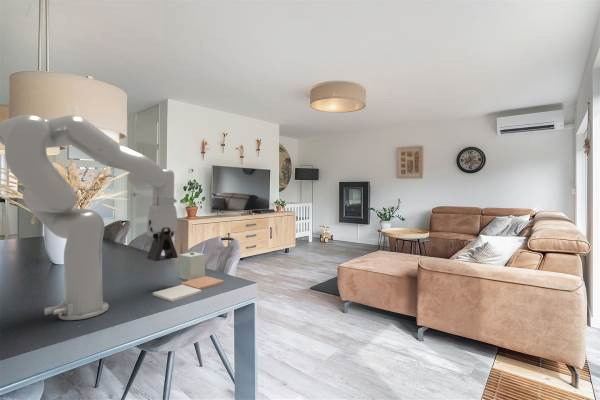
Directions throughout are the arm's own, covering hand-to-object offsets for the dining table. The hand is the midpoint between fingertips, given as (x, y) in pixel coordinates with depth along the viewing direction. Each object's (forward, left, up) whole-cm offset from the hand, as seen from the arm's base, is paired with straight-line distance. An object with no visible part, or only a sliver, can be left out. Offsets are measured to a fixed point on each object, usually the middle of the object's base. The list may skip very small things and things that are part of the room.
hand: (162, 250), depth 119 cm
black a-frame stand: (0, 0, -3) cm, 3 cm away
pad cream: (0, -10, -15) cm, 18 cm away
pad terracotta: (+13, -7, -15) cm, 21 cm away
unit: (+16, +4, -15) cm, 22 cm away
